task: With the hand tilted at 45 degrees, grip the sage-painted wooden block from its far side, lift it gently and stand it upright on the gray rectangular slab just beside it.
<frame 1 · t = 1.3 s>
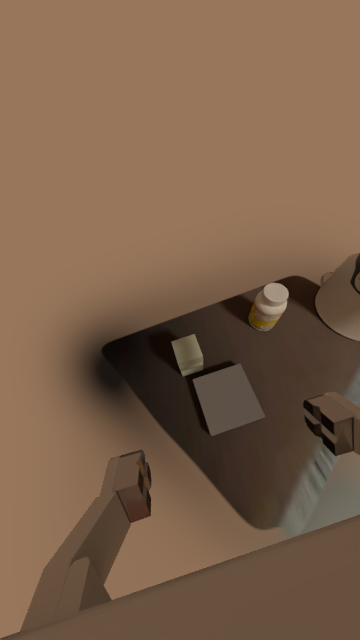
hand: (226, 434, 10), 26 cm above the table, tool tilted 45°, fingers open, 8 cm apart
gray rectangular slab: (225, 398, 35), on the table
sage block: (189, 363, 38), on the table
supplement bottle: (261, 320, 41), on the table
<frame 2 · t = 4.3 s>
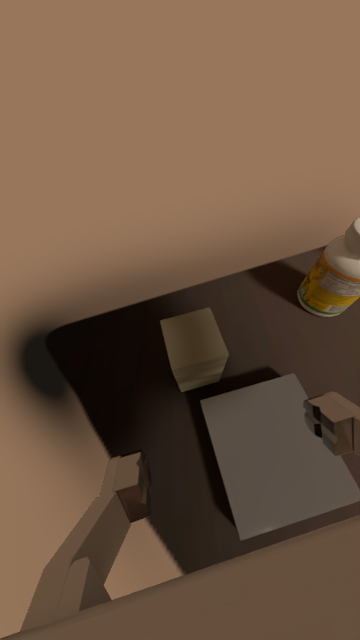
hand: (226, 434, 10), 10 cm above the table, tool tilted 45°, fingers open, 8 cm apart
gray rectangular slab: (264, 442, 17), on the table
sage block: (194, 368, 21), on the table
supplement bottle: (318, 300, 24), on the table
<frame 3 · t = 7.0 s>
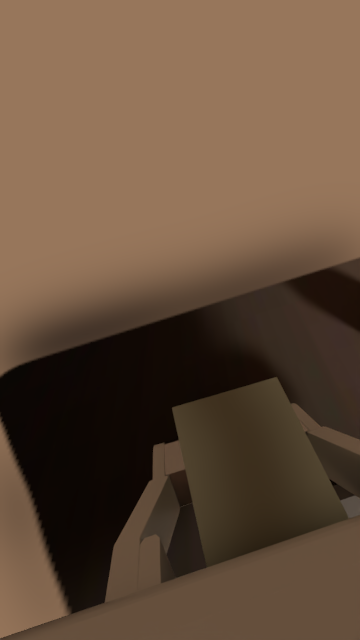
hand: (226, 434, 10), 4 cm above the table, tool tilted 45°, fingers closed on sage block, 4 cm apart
sage block: (222, 445, 13), on the table, touching gripper
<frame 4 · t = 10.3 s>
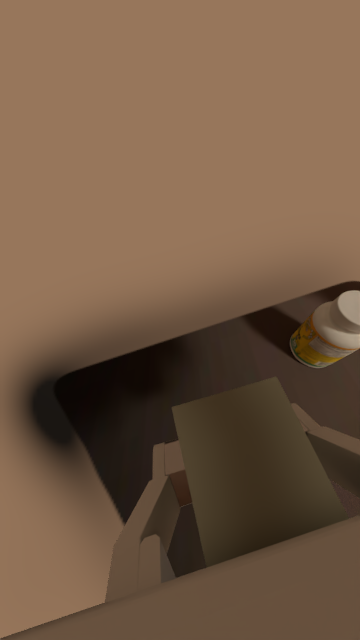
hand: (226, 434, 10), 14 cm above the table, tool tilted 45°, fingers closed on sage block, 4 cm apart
sage block: (222, 444, 13), point 10 cm above the table, touching gripper
supplement bottle: (309, 349, 26), on the table
when the fingers open (8 cm above the table, at t = 13.6 s): sage block drops 1 cm, resting on gray rectangular slab.
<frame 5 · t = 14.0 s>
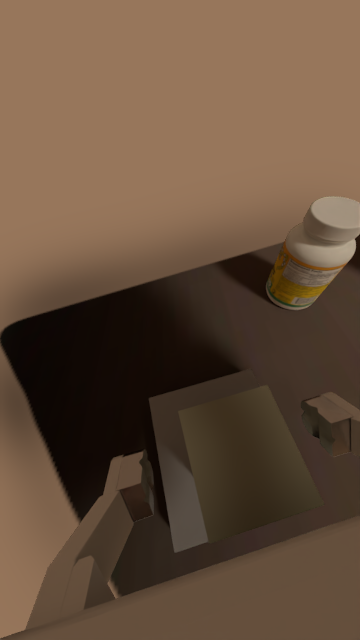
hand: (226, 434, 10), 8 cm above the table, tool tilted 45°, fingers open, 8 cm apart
gray rectangular slab: (217, 443, 16), on the table
sage block: (221, 443, 14), point 2 cm above the table, touching gray rectangular slab
supplement bottle: (288, 292, 23), on the table
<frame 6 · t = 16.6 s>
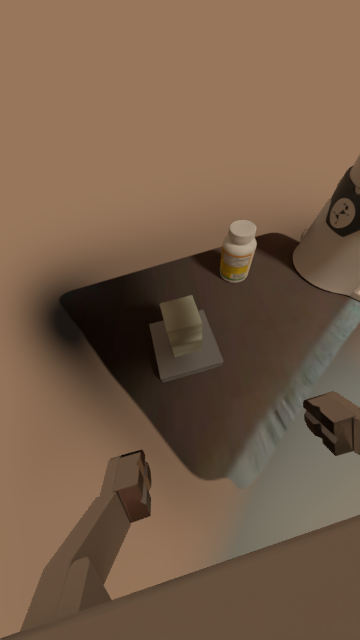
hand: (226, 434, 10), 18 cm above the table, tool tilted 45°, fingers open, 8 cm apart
gray rectangular slab: (184, 346, 31), on the table
sage block: (184, 341, 29), point 2 cm above the table, touching gray rectangular slab
supplement bottle: (233, 273, 38), on the table
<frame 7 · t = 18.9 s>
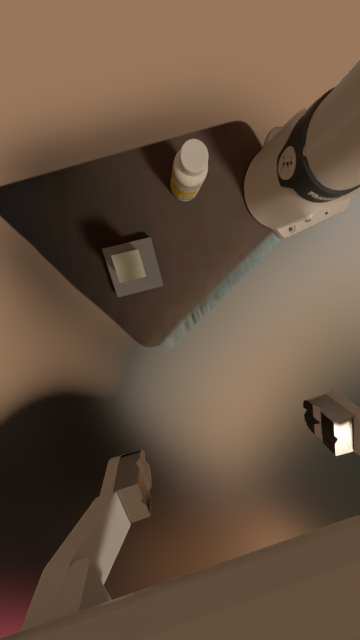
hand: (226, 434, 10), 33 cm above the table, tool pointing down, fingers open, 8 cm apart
gray rectangular slab: (134, 268, 39), on the table
sage block: (134, 267, 37), point 2 cm above the table, touching gray rectangular slab
supplement bottle: (184, 186, 37), on the table
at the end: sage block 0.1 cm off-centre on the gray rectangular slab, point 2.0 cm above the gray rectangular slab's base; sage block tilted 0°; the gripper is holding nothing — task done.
